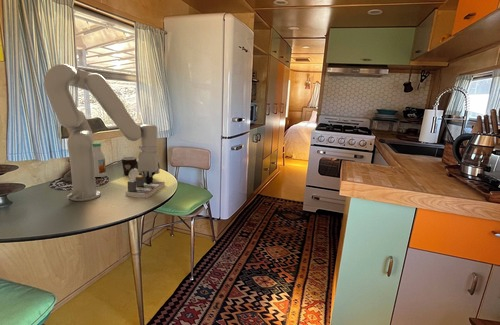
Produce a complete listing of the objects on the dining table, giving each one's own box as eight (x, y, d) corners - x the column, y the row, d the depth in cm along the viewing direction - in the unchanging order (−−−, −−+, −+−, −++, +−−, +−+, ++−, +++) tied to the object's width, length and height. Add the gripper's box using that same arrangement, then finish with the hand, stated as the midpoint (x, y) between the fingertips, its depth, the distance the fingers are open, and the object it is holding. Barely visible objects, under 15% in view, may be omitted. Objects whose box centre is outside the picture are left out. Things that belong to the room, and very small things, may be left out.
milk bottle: (94, 179, 155) (91, 144, 150) (89, 175, 160) (86, 142, 155) (108, 176, 160) (106, 143, 156) (103, 173, 165) (100, 141, 161)
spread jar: (154, 177, 165) (154, 158, 163) (147, 182, 154) (146, 162, 152) (135, 175, 166) (134, 157, 163) (126, 181, 155) (125, 161, 152)
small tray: (146, 198, 132) (146, 184, 130) (125, 195, 133) (125, 182, 131) (164, 185, 151) (164, 173, 150) (146, 183, 152) (145, 171, 151)
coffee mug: (119, 174, 165) (118, 158, 163) (128, 171, 173) (128, 156, 171) (134, 177, 162) (134, 161, 160) (144, 173, 170) (143, 158, 168)
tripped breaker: (141, 186, 141) (141, 176, 139) (135, 185, 141) (135, 176, 140) (143, 184, 143) (143, 175, 142) (138, 184, 143) (138, 175, 142)
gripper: (131, 148, 134) (132, 183, 138) (159, 151, 132) (159, 187, 136) (139, 146, 141) (139, 179, 145) (166, 149, 139) (166, 183, 143)
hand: (149, 183), depth 141 cm, fingers closed
